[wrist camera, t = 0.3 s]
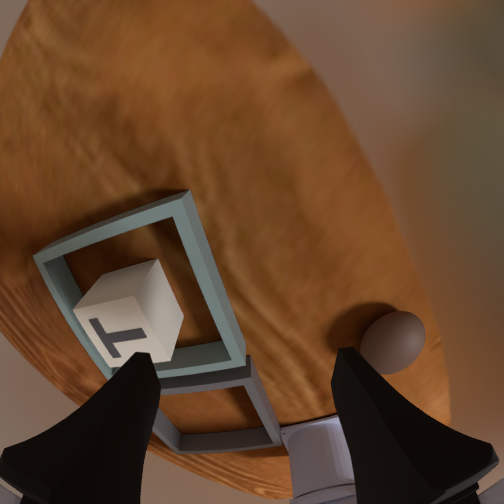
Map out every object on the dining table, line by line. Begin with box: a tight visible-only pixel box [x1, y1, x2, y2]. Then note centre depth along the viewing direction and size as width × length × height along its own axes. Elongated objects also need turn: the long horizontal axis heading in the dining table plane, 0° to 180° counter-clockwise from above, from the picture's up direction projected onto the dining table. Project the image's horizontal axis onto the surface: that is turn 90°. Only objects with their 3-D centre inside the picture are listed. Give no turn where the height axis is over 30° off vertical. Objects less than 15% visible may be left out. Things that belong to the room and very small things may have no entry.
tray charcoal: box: [152, 355, 282, 454], centre depth 24 cm, size 13×13×2 cm
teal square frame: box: [33, 190, 246, 380], centre depth 19 cm, size 13×13×2 cm
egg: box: [360, 311, 425, 374], centre depth 20 cm, size 6×6×4 cm
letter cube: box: [73, 258, 184, 367], centre depth 18 cm, size 5×5×5 cm
